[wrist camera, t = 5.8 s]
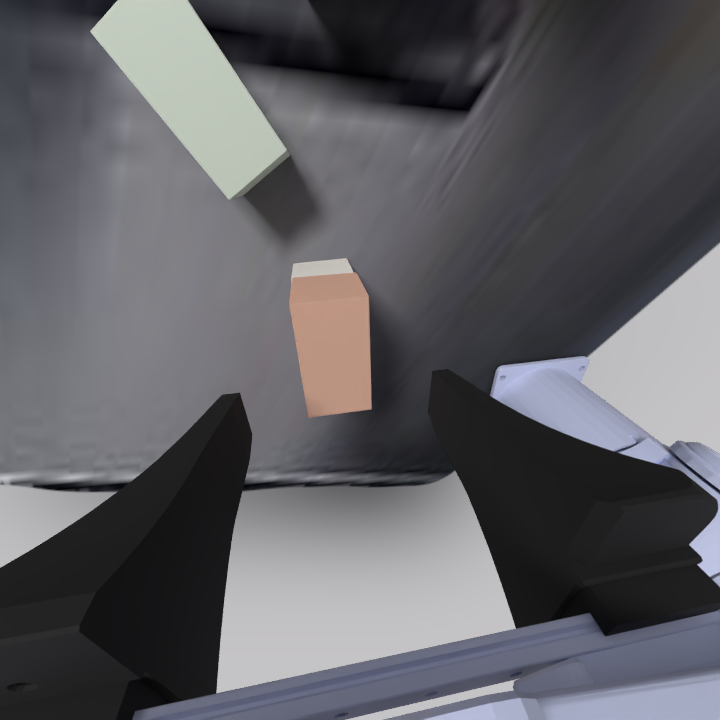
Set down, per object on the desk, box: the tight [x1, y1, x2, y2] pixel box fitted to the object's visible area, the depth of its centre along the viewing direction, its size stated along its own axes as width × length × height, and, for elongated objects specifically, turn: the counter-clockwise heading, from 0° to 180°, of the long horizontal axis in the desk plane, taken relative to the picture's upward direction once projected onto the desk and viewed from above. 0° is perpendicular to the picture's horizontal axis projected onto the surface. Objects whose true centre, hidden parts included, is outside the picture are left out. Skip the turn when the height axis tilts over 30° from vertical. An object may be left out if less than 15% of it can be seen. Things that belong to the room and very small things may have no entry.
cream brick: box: [291, 258, 354, 283], centre depth 18 cm, size 6×3×4 cm, turn 4°
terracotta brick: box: [289, 272, 372, 417], centre depth 15 cm, size 6×3×4 cm, turn 3°
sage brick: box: [90, 0, 290, 200], centre depth 13 cm, size 6×3×4 cm, turn 34°
